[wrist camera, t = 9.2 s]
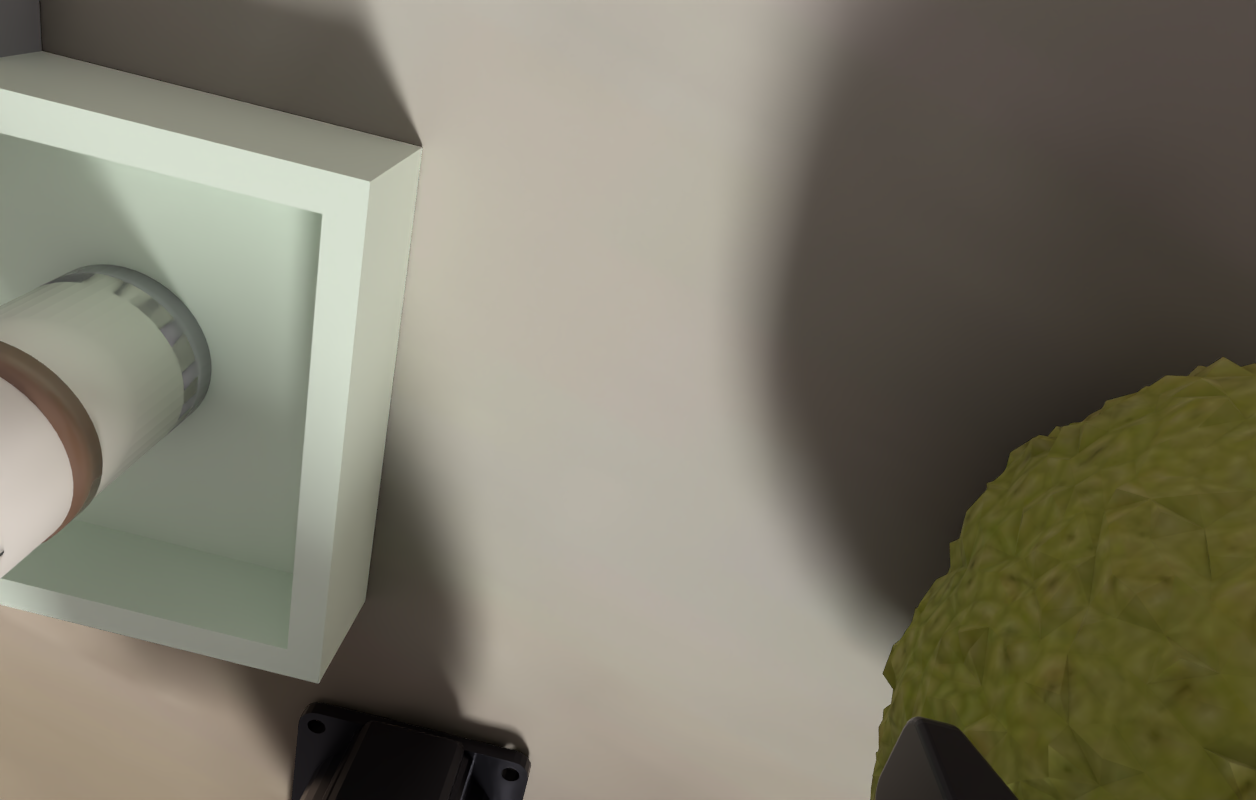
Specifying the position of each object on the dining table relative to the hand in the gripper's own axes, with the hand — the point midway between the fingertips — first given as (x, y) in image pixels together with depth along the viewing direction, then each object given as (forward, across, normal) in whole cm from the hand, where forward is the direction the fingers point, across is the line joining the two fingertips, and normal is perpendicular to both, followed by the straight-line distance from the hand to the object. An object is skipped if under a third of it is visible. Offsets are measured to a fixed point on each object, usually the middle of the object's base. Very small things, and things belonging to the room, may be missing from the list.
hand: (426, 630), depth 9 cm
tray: (+12, +10, +5) cm, 17 cm away
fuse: (+12, +10, +5) cm, 16 cm away
